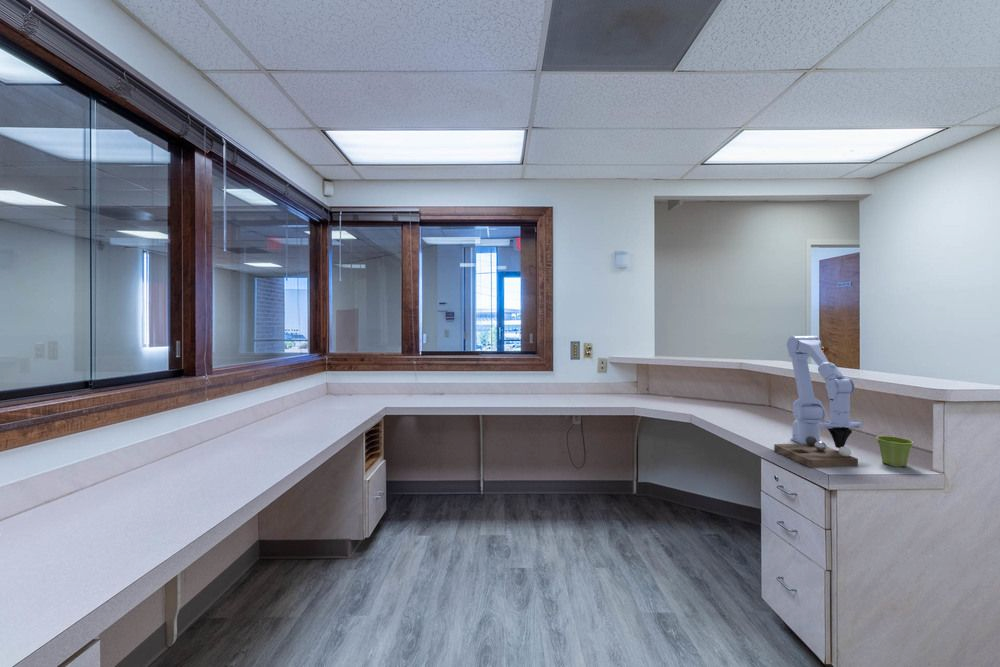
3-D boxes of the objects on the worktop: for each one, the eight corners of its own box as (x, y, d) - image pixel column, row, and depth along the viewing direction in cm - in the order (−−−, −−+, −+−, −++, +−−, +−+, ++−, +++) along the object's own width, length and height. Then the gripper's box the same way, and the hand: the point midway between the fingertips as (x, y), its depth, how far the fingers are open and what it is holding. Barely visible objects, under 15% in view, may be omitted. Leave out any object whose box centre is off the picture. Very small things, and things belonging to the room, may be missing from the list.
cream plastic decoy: (835, 455, 147) (835, 445, 146) (845, 454, 147) (845, 445, 146) (843, 458, 143) (843, 448, 143) (853, 458, 143) (853, 448, 143)
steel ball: (812, 449, 153) (812, 440, 153) (821, 449, 153) (821, 439, 153) (819, 452, 150) (819, 442, 149) (828, 452, 150) (828, 442, 149)
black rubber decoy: (803, 444, 160) (803, 435, 159) (812, 443, 160) (812, 434, 159) (810, 446, 156) (810, 437, 156) (819, 446, 156) (819, 437, 156)
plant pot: (875, 457, 150) (875, 434, 150) (911, 463, 144) (911, 438, 144) (876, 465, 143) (877, 440, 142) (915, 471, 137) (915, 445, 136)
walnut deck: (774, 450, 160) (774, 444, 160) (817, 449, 160) (817, 443, 160) (808, 467, 142) (808, 459, 142) (857, 465, 142) (857, 458, 142)
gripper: (828, 414, 147) (828, 451, 147) (869, 413, 147) (868, 450, 147) (813, 409, 154) (813, 445, 154) (852, 408, 154) (852, 444, 154)
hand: (839, 447), depth 151 cm, fingers closed
